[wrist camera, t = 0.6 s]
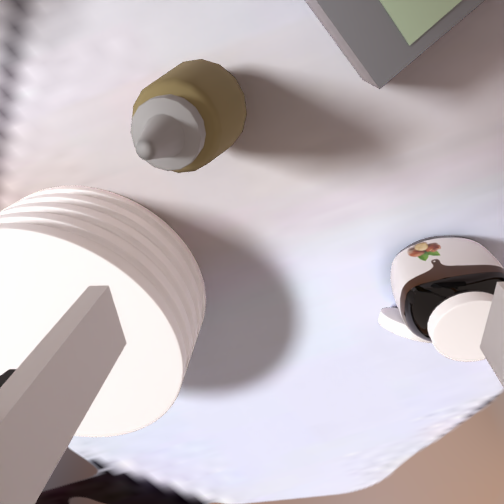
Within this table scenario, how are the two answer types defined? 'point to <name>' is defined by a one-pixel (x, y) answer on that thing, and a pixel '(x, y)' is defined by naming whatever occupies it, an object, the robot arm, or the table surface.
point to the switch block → (387, 30)
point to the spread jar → (443, 295)
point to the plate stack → (121, 286)
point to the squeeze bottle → (188, 116)
